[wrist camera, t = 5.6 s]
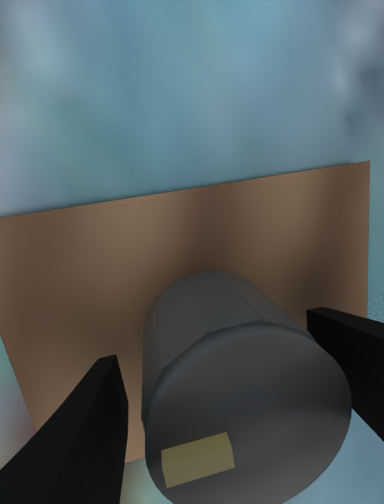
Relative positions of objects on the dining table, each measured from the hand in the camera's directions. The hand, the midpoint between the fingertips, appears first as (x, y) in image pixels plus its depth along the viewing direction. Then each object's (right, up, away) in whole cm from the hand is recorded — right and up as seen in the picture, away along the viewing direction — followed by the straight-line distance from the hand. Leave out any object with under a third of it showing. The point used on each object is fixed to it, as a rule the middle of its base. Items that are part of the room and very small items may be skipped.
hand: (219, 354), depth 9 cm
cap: (0, 0, +2) cm, 2 cm away
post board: (-1, +1, +3) cm, 3 cm away
